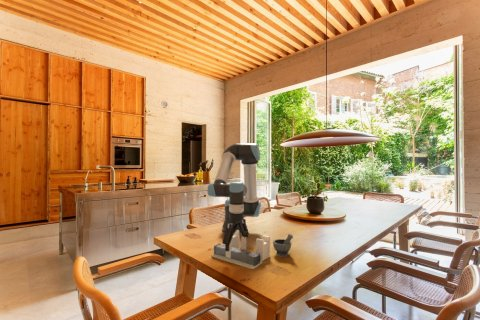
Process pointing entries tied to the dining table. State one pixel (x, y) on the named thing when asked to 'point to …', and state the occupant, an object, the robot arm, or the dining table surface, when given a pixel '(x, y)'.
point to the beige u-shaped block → (263, 247)
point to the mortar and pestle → (282, 246)
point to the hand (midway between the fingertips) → (236, 253)
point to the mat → (235, 261)
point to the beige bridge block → (235, 240)
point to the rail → (238, 254)
